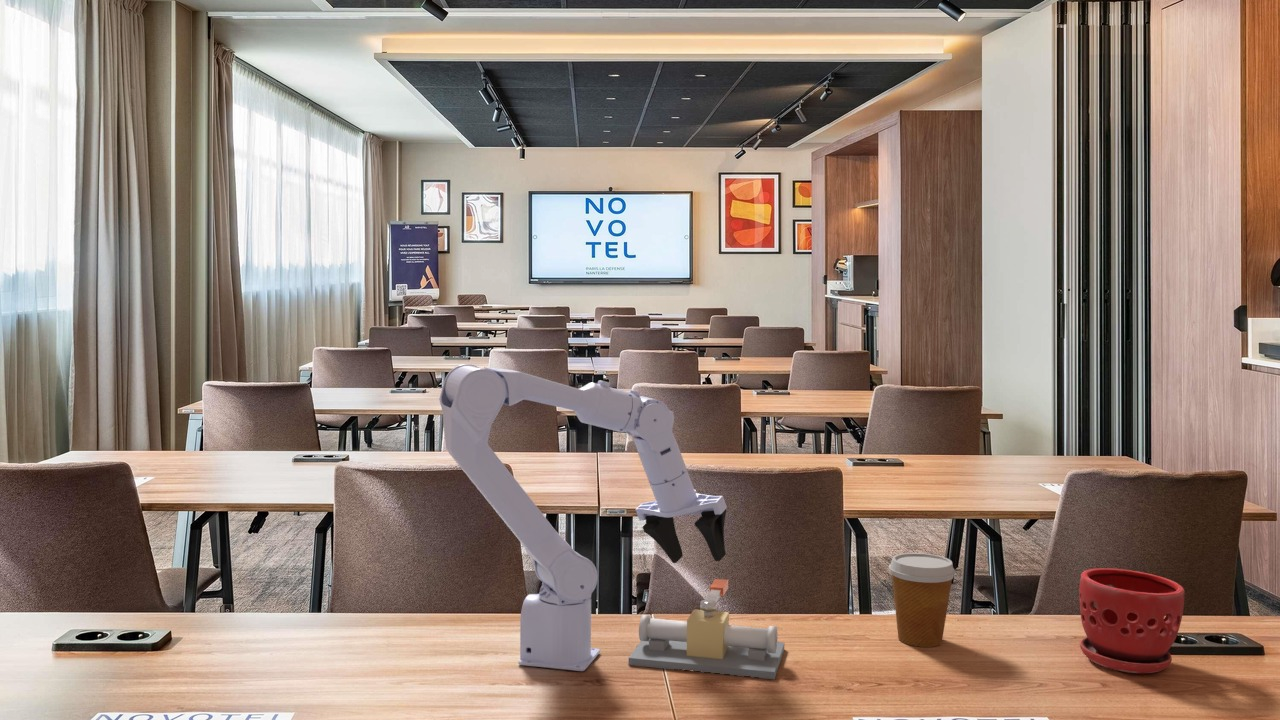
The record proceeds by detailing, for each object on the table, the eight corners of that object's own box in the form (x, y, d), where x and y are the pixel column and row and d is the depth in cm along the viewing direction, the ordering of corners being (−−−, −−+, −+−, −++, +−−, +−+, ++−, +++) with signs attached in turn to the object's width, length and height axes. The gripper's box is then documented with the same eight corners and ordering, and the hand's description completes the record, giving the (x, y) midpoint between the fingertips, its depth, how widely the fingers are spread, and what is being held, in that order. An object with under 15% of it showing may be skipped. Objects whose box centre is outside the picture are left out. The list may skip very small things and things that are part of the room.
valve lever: (714, 612, 142) (714, 603, 142) (699, 610, 143) (699, 602, 143) (728, 587, 154) (728, 580, 154) (714, 586, 154) (714, 578, 154)
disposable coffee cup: (907, 653, 146) (910, 570, 146) (875, 632, 156) (877, 554, 155) (966, 648, 149) (968, 566, 148) (931, 627, 158) (933, 550, 157)
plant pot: (1131, 686, 135) (1135, 596, 134) (1056, 653, 147) (1059, 571, 146) (1203, 673, 140) (1207, 586, 139) (1124, 642, 152) (1128, 562, 151)
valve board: (628, 664, 141) (628, 616, 141) (649, 636, 153) (649, 591, 152) (774, 679, 136) (775, 629, 136) (784, 649, 148) (785, 602, 147)
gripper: (722, 458, 146) (753, 542, 149) (642, 467, 155) (672, 546, 157) (699, 480, 140) (731, 567, 143) (617, 489, 149) (648, 571, 152)
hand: (698, 558), depth 150 cm, fingers open, 7 cm apart
